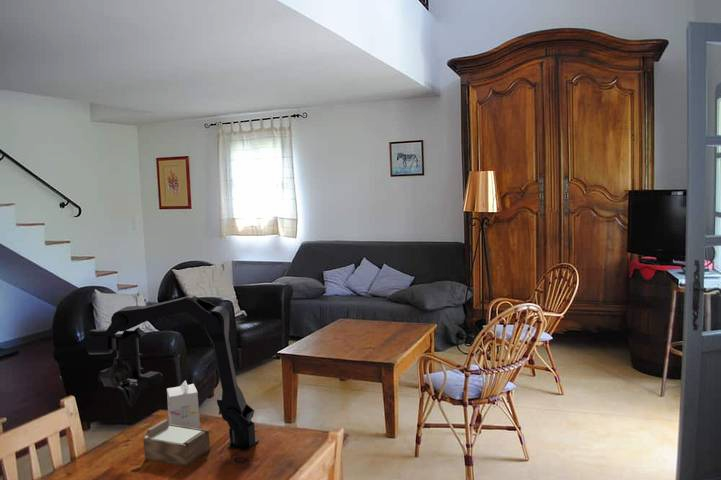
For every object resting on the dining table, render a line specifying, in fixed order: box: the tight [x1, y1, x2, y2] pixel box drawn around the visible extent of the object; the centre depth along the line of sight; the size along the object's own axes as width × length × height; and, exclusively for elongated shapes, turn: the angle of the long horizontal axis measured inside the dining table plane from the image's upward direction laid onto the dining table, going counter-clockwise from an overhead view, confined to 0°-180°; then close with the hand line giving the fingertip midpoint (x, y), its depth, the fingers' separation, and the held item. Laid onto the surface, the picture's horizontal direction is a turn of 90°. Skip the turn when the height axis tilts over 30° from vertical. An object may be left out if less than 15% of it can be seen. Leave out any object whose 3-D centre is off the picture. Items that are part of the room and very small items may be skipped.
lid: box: [144, 419, 202, 445], centre depth 161 cm, size 13×8×3 cm, turn 67°
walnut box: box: [142, 424, 211, 468], centre depth 161 cm, size 14×10×6 cm
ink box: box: [166, 380, 201, 429], centre depth 179 cm, size 9×8×13 cm
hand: (132, 406), depth 164 cm, fingers closed
